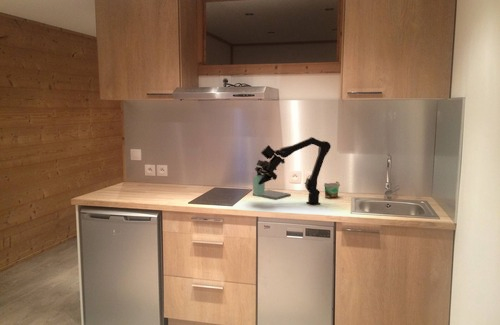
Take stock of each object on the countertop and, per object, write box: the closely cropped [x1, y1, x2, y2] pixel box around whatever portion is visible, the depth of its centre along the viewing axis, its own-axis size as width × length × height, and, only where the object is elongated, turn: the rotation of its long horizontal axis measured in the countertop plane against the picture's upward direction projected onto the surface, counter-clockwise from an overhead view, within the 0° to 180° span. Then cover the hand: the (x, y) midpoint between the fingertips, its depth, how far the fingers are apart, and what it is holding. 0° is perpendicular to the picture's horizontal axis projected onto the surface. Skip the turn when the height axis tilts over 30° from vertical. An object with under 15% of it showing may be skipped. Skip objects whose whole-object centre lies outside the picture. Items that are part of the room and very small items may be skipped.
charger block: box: [252, 175, 266, 195], centre depth 227 cm, size 5×5×11 cm
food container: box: [323, 181, 341, 199], centre depth 250 cm, size 12×6×10 cm, turn 126°
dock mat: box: [252, 189, 292, 201], centre depth 256 cm, size 20×16×2 cm
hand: (256, 183), depth 226 cm, fingers closed on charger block, 5 cm apart
